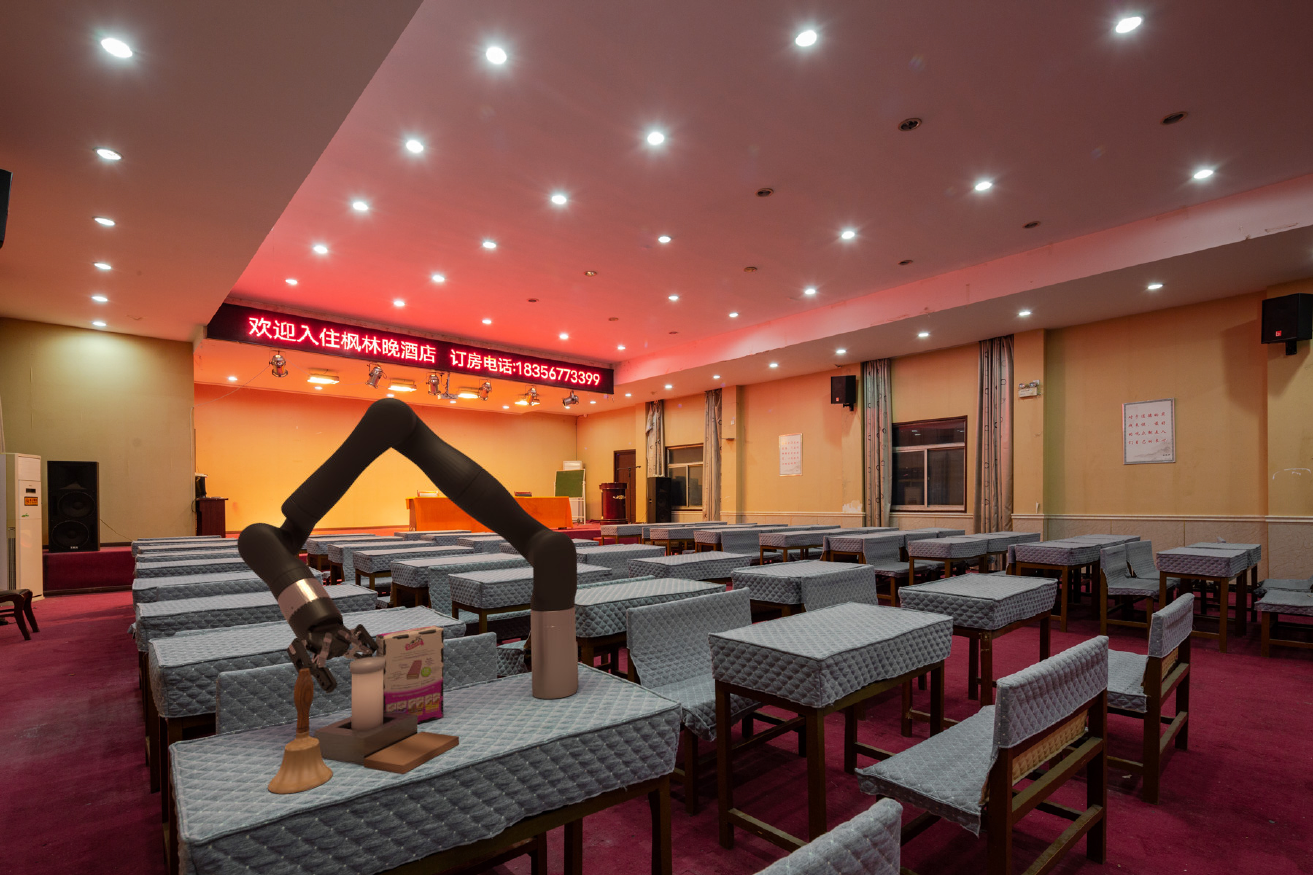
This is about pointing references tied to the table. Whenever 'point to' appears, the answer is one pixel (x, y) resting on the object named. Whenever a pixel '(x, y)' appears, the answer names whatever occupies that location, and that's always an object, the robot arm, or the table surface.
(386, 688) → the candy bar box
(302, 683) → the hand bell
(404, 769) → the board
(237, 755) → the table surface
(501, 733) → the table surface
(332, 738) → the housing
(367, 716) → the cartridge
